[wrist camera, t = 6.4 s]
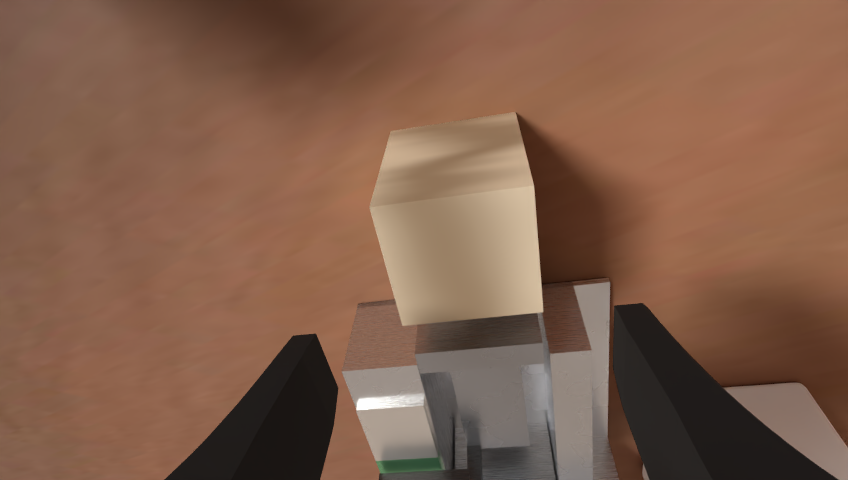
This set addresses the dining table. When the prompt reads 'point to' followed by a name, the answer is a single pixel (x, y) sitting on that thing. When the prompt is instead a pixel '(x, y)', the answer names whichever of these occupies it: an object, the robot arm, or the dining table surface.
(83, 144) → the dining table surface
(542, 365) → the gauge housing
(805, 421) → the medicine bottle
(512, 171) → the block
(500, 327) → the grey l-shaped piece
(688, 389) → the robot arm
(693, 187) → the dining table surface
